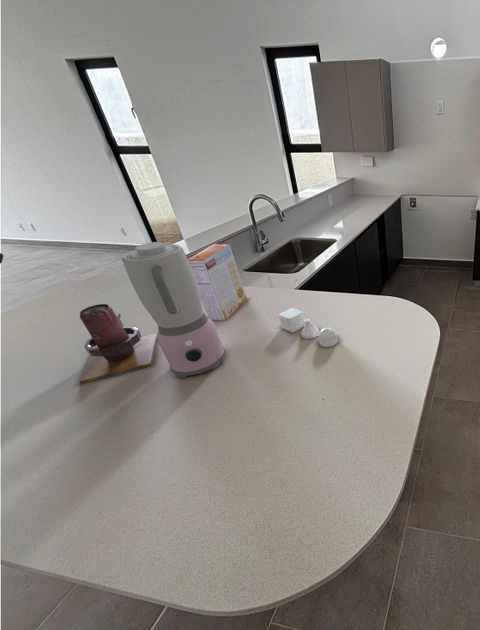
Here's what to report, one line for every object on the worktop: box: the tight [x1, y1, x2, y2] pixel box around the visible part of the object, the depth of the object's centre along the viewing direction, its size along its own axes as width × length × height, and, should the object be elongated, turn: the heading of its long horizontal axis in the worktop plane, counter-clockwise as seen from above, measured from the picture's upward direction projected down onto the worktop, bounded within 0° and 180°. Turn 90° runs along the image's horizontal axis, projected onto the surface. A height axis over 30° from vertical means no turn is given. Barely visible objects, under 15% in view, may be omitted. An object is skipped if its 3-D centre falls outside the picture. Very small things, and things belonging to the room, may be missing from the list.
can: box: [79, 303, 134, 361], centre depth 84 cm, size 6×6×14 cm
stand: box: [78, 312, 158, 385], centre depth 86 cm, size 14×16×10 cm
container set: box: [278, 307, 338, 348], centre depth 96 cm, size 20×5×6 cm, turn 57°
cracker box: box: [187, 243, 248, 321], centre depth 105 cm, size 14×6×21 cm, turn 178°
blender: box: [121, 241, 227, 378], centre depth 77 cm, size 16×12×32 cm
